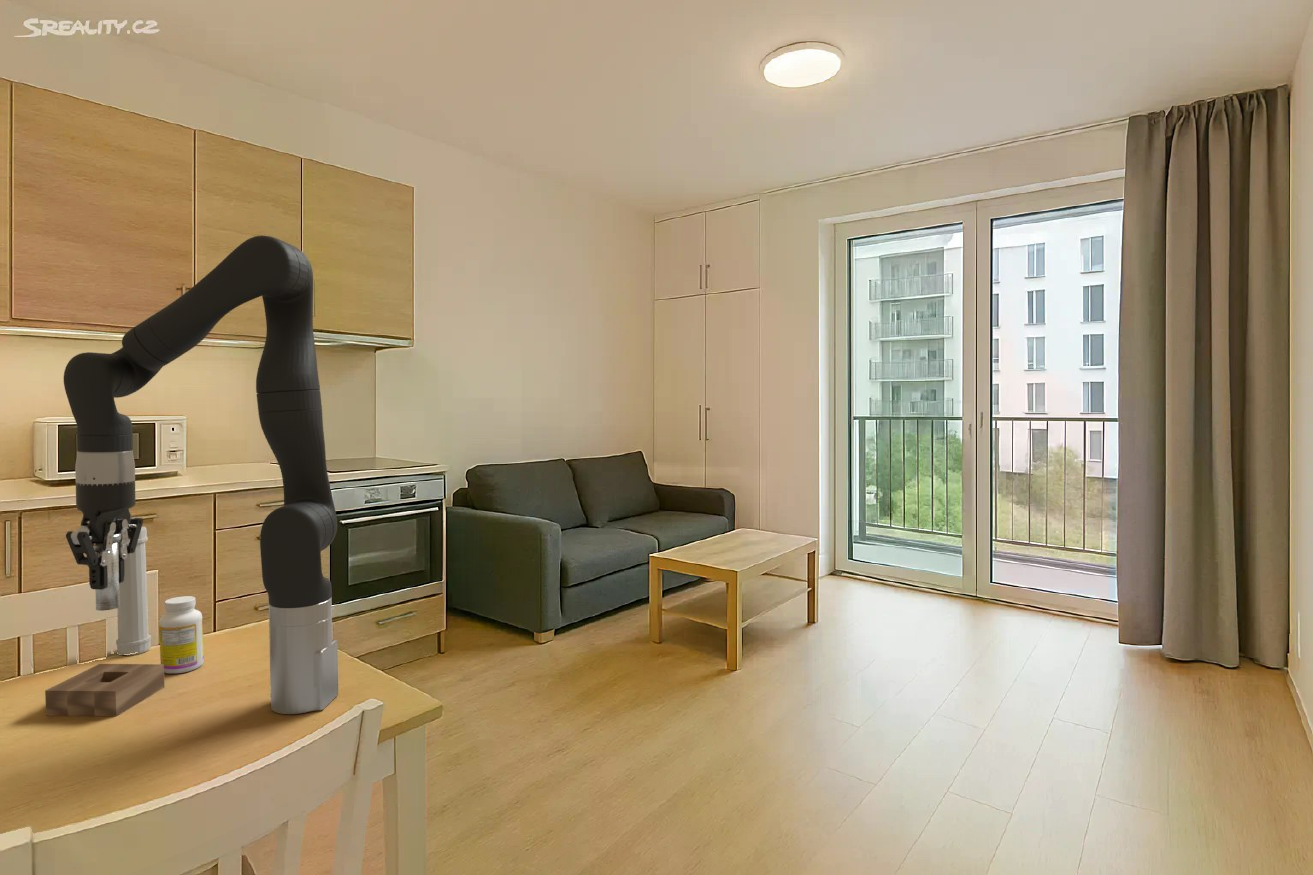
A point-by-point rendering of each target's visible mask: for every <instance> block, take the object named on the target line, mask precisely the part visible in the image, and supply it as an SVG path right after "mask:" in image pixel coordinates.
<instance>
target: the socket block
mask: <svg viewBox="0 0 1313 875" xmlns="http://www.w3.org/2000/svg"><path fill="white" fill-rule="evenodd" d="M164 688H165V673H164V664H161V663H160V664H158V663H157V664H156V663H155V664H154V663H153V664H152V663H151V664H150V663H149V664H148V663H147V664H144V663H142V664H141V663H139V664H138V663H98V664H96V665H94V666H92V667H90V668H88V669H86V670H84V671H82V672H80V673H78V674H76V675H74V676H71V677H69V678H68V679H66V680H64V681H62V682H60V683H58V684H55V685H53V686H51V687H49V688H48V689H45V690H44V693H45V694H44V695H45V714H46V716H56V717H57V716H63V717H64V716H66V717H67V716H68V717H71V716H73V717H74V716H75V717H76V716H77V717H78V716H79V717H80V716H82V717H118V716H119V715H120V714H122V713H124V712H126V711H128V710H130V709H131V708H133V707H134V706H135V705H138V704H139V703H141V702H143V701H144V700H145V699H147V698H149V697H151V696H152V695H154V694H155V693H157V692H159V691H160V690H162V689H164Z"/></svg>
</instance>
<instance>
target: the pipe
mask: <svg viewBox="0 0 1313 875" xmlns="http://www.w3.org/2000/svg"><path fill="white" fill-rule="evenodd" d="M148 541H149V537H148V531H147V527H146V526H142V528H141V531H140V535H139V538H138V542H137V546H136V549H135V552H134V553H129V554H128V557H127V558H126V559H125V560H124V563H125V571H124V572H125V575H124V581H123V582H122V583H119V607H118V608H116V609H117V631H118V639H116V640H115V645H116V648H117V650H116V651H117V655H119V656H122V655H124V654H130V653H135V652H138V653H136V654H130V655H129V656H136V655H139V654H140V655H141V654H143V653H146V652H148V651H150V649H151V644H152V642H151V639H152V635H151V634H149V611H148V609H149V608H148V586H147V584H148V582H147V581H148V579H147V554H146V553H147V551H146V542H148ZM129 542H130V539H129ZM126 546H129V543H128V544H127V545H126ZM127 657H128V655H127Z"/></svg>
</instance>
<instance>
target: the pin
mask: <svg viewBox="0 0 1313 875" xmlns="http://www.w3.org/2000/svg"><path fill="white" fill-rule="evenodd" d="M119 540H121V533H116V534H113V542H112V549H111V550H110V551H109V552H108V558H107V564H106V566H107V574H108V586H107V588H105V589H102V590H98V589H95V610H96V611H101V612H102V611H110V610H111V611H113V610H115V609H117V608H118V607H119V548H118V541H119ZM94 545H95V546H102V545H103V544H94ZM96 555H97V557H98V558H99V551H96Z"/></svg>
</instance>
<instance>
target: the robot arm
mask: <svg viewBox="0 0 1313 875" xmlns="http://www.w3.org/2000/svg"><path fill="white" fill-rule="evenodd" d="M260 297H261V298H262V302H263V307H264V313H265V321H266V322H265V323H266V336H265V341H264V345H263V350H262V353H261V356H260V359H259V363H258V368H257V372H256V379H255V392H256V402H257V412H258V418H259V424H260V427H261V430H262V432H263V435H264V437H265V440H266V441H267V444H268V445H269V447H270V450H271V452H272V453H273V455H274V457H275V459H276V461H277V463H278V466H279V469H280V472H281V478H282V488H283V505H282V506H279V507H278V508H276V509H274V510H272V511H271V512H270V513H268V514H267V516H266V517H265V518H264V520H263V522H262V524H261V529H260V537H259V548H260V561H261V562H260V564H261V575H262V583H263V587H264V589H265V591H266V594H267V595H268V621H269V622H268V628H269V629H268V630H269V632H268V633H269V637H268V638H269V676H270V678H269V680H270V681H269V682H270V683H269V684H270V706H271V710H272V711H273V712H275V713H277V714H284V715H297V714H305V713H308V712H313V711H322V710H324V709H325V708H326V707H327V706H329V705H330V703H331V702H332V701H333V700H334V699H335V698H336V697H337V696H339V650H338V649H339V648H338V645H339V644H338V640H337V639H333V615H332V614H333V609H332V608H333V606H332V603H333V602H332V599H333V592H332V582H331V580H330V579H329V578H328V577H326V576H324V575H323V570H322V554H321V552H322V551H324V550H326V549H327V548H328V547H330V545H331V544H332V543H333V541H335V540H334V539H335V537H336V535H337V533H338V532H337V531H338V519H337V512H336V508H335V503H334V498H333V495H332V494H333V493H332V490H331V485H330V480H329V475H328V474H329V473H328V468H327V457H326V442H325V431H324V419H323V418H324V417H323V405H322V395H321V386H320V380H319V371H318V361H317V351H316V344H315V336H314V321H313V320H314V317H313V316H314V315H313V314H314V312H313V311H314V270H313V267H312V264H311V262H310V260H309V258H308V257H307V255H306V254H305V253H304V252H303V250H301V249H299V247H296V246H295V245H293V244H290V243H288V242H286V241H283V240H282V239H279V238H277V237H274V236H269V235H256V236H255V235H254V236H253V237H250V238H248V239H246V240H244V241H243V242H241V243H240V244H239V245H238V246H237V247H235V248H234V250H232V251H231V252H229V254H228V255H227V256H226V257H225V258H224V259H223V260H222V261H220V263H218V264H216V266H215V267H214V268H213V269H212V270H211V271H209V272H208V273H207V274H206V275H205V276H204V277H203V278H202V279H200V280H199V281H198V282H197V283H196V284H195V285H193V286H192V287H191V288H189V289H188V290H187V291H186V292H185V293H183V294H182V295H180V297H178V298H176V299H175V300H174V301H172V302H171V303H170V304H168V305H167V306H165V307H164V308H162V309H160V310H159V311H156V313H154V314H153V315H151V316H149V317H148V318H146V319H144V320H143V321H141V322H140V323H138V324H137V325H135V326H134V327H132V328H131V329H129V330H128V331H126V333H124V335H123V336H122V339H121V348H120V349H118V350H116V351H115V352H112V353H105V352H104V353H103V352H81V353H77V354H76V355H74V356H73V357H71V358H70V360H68V363H67V364H66V366H65V368H64V372H63V385H64V386H63V387H64V391H65V394H66V397H67V401H68V404H69V406H70V409H71V413H72V415H73V419H74V421H75V425H76V451H77V452H76V460H75V468H74V470H75V475H74V476H75V508H76V509H77V510H78V511H81V512H82V519H81V521H80V527H78V528H77V529H76V530H74V531H72V530H71V531H70V530H69V531H67V532H66V533H65V538H66V542H67V543H68V545H69V548H70V550H71V552H72V556H73V557H74V559H75V562H76V564H77V565H82V566H87V567H88V574H89V575H88V577H89V578H88V579H89V580H88V582H89V583H88V584H89V587H90V589H91V590H96V589H98V590H102V589H105V588H107V586H108V574H107V566H106V564H107V558H108V552H109V551H110V550H111V549H112V542H113V534H116V533H121V540H119V541H118V548H119V583H122V582H123V581H124V575H125V572H124V571H125V563H124V560H125V559H126V558H127V557H128V554H129V553H134V552H135V549H136V546H137V542H138V538H139V535H140V531H141V528H142V527H143V524H144V518H142V517H134V516H132V515H131V511H130V509H132V508H134V507H135V505H136V463H135V457H134V450H133V448H134V446H133V445H134V444H133V439H134V438H133V433H134V432H133V423H132V420H131V418H130V417H129V416H128V415H125V414H123V413H120V412H118V408H117V405H116V402H115V399H118V398H124V397H126V396H129V395H131V394H132V395H133V394H134V393H136V392H138V391H139V390H141V389H142V388H144V387H145V386H146V385H147V384H148V383H149V382H150V381H152V379H153V378H154V377H155V376H156V375H157V374H158V373H159V372H160V371H161V369H162V368H164V367H165V366H168V364H171V362H173V361H175V360H176V359H178V358H180V357H181V356H183V355H185V354H186V353H187V352H189V351H190V350H192V349H193V348H195V347H196V346H198V345H199V344H201V342H203V340H204V339H205V338H206V337H207V336H208V335H209V334H210V333H211V332H212V330H213V329H214V328H215V326H216V325H217V324H218V323H219V322H220V320H222V319H223V318H224V317H225V316H226V315H228V314H229V313H231V311H233V310H235V309H236V308H238V307H240V306H241V305H243V304H246V303H248V302H250V301H253V300H255V299H257V298H260ZM129 539H130V542H129ZM128 543H129V546H126V545H127V544H128ZM95 544H103V545H102V546H95ZM96 551H99V558H98V557H97V555H96ZM85 555H86V556H85Z"/></svg>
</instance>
